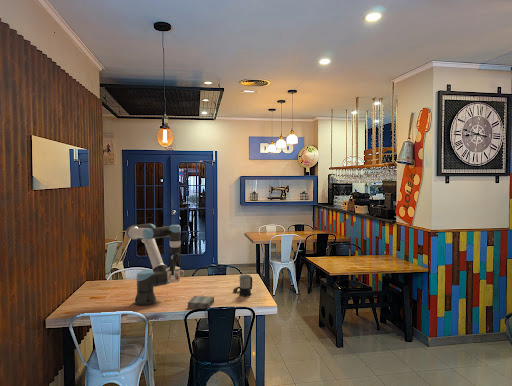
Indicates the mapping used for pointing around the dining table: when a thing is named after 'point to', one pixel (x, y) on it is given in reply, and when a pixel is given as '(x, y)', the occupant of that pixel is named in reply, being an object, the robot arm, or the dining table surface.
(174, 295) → the dining table surface
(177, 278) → the teacup with lid
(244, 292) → the milk frother
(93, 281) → the dining table surface
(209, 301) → the grey stand
